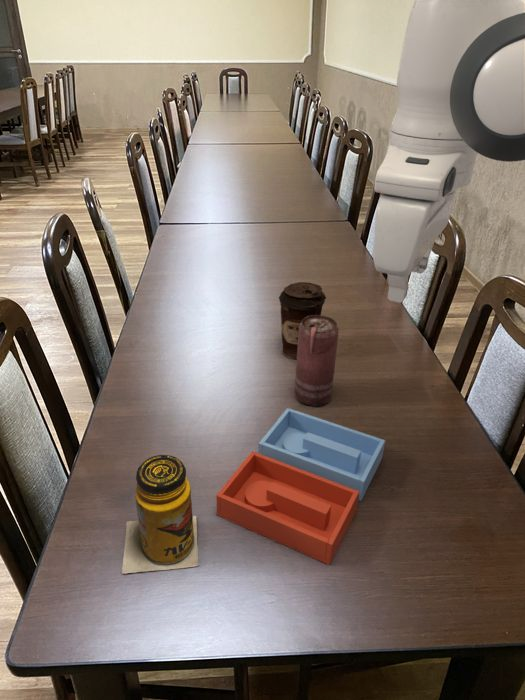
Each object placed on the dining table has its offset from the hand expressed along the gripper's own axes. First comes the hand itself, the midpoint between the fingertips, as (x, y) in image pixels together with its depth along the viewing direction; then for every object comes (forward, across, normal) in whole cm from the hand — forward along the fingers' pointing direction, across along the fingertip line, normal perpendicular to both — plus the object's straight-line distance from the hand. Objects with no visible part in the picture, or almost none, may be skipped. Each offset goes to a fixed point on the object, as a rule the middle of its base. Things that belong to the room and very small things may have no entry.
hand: (407, 284), depth 63 cm
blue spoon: (+27, +4, -7) cm, 28 cm away
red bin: (+27, +16, -7) cm, 32 cm away
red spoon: (+27, +16, -7) cm, 32 cm away
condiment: (+27, +27, -18) cm, 42 cm away
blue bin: (+27, +4, -7) cm, 28 cm away
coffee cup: (+27, -21, -22) cm, 41 cm away
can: (+27, -9, -14) cm, 32 cm away
